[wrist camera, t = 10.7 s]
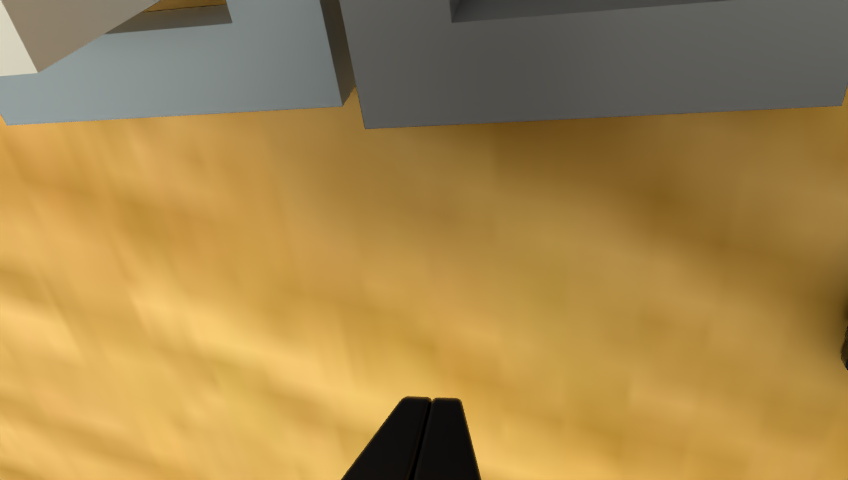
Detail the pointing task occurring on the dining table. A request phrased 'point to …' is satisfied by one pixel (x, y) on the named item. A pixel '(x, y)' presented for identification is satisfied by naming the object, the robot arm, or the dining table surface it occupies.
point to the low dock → (194, 65)
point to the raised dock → (591, 58)
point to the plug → (55, 29)
